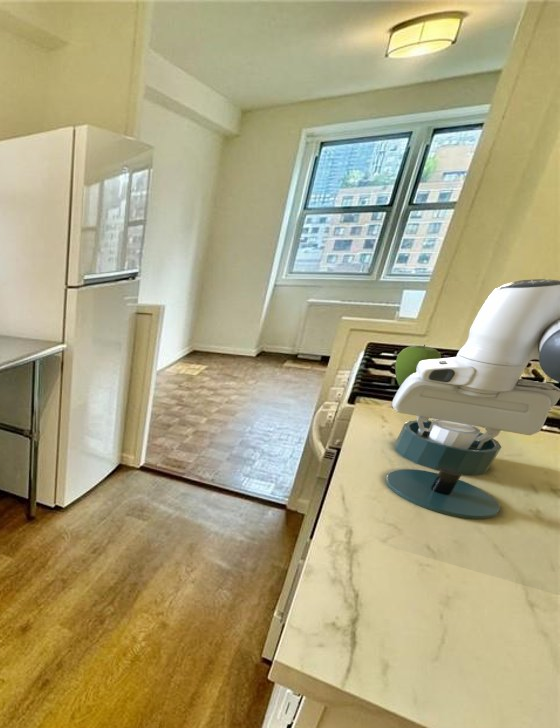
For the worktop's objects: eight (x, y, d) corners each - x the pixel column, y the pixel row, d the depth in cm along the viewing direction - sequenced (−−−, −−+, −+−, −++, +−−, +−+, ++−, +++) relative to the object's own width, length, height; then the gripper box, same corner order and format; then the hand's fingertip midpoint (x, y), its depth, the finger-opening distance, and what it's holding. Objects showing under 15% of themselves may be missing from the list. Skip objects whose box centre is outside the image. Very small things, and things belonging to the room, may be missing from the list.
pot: (477, 454, 96) (491, 430, 94) (493, 485, 86) (509, 459, 84) (390, 437, 103) (401, 414, 100) (396, 464, 93) (408, 439, 91)
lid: (485, 490, 85) (500, 465, 83) (506, 533, 74) (524, 506, 72) (381, 467, 92) (392, 443, 90) (387, 503, 82) (399, 478, 79)
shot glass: (467, 459, 94) (485, 427, 90) (456, 470, 90) (474, 436, 87) (422, 446, 99) (438, 415, 95) (410, 455, 95) (426, 423, 92)
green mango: (429, 394, 124) (450, 351, 118) (387, 388, 128) (406, 346, 123) (423, 384, 130) (443, 342, 125) (384, 379, 134) (402, 338, 129)
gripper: (561, 380, 83) (517, 450, 90) (408, 359, 94) (379, 424, 100) (574, 391, 79) (527, 464, 85) (412, 368, 89) (381, 435, 96)
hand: (446, 442), depth 93 cm, fingers open, 6 cm apart
